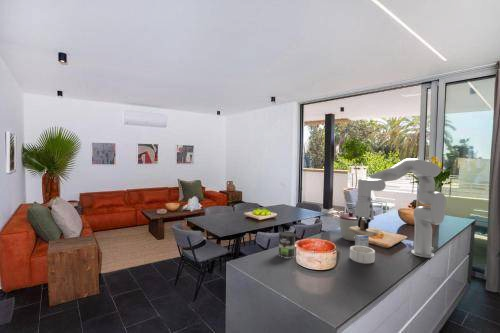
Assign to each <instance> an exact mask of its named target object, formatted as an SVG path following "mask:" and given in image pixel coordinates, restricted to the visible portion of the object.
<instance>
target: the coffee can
mask: <svg viewBox="0 0 500 333" xmlns="http://www.w3.org/2000/svg"><path fill="white" fill-rule="evenodd" d="M295 245H296V234H295V232H291V231H280V232H279V233H278V257H280V256H281V257H280V258H282V257H284V258H283V259H292V258H291V257H293V256H294V255H295V253H296V252H295V251H296V250H295V249H296V246H295ZM294 257H295V256H294ZM294 257H293V258H294Z"/></svg>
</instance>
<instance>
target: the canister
mask: <svg viewBox="0 0 500 333" xmlns="http://www.w3.org/2000/svg"><path fill="white" fill-rule="evenodd" d="M338 219H339V229H340V230H339V231H340V236H341V238H342V239H343V240H346V241H350V242H351V241H352V242H355V238H354V237H355V235H358V234H354V233H351V232H349V227H353V226H358V221H357V218H356V217H355V216H354V213H353V212H352V211H350V212H348V214H341V215H339V216H338ZM362 220H365V218H364V217H362Z"/></svg>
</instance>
